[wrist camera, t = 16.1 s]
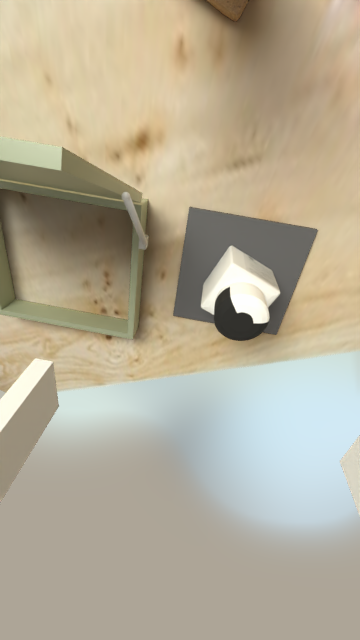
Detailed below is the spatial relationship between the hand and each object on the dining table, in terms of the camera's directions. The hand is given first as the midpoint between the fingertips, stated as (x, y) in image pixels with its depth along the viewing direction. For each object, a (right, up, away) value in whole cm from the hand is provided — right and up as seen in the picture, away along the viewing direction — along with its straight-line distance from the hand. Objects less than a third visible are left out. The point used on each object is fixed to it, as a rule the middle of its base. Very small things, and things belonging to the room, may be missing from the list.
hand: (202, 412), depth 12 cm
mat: (+8, +11, +33) cm, 36 cm away
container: (+8, +11, +33) cm, 36 cm away
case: (-18, +15, +34) cm, 42 cm away
